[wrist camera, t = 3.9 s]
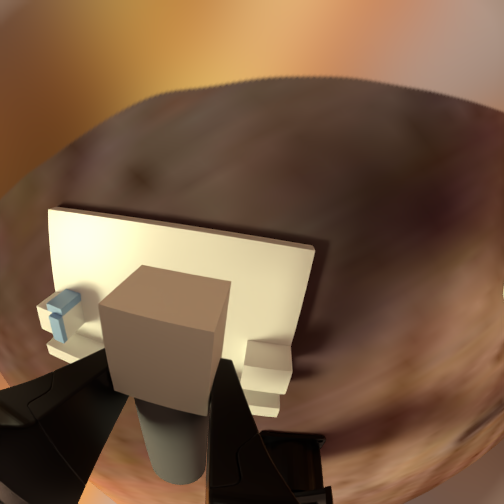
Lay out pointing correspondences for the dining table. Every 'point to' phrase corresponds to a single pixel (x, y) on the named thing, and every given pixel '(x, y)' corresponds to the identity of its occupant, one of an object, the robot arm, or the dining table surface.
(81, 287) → the backplate with stepped blocks
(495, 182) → the dining table surface
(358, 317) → the dining table surface
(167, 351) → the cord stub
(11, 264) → the dining table surface
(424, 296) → the dining table surface
